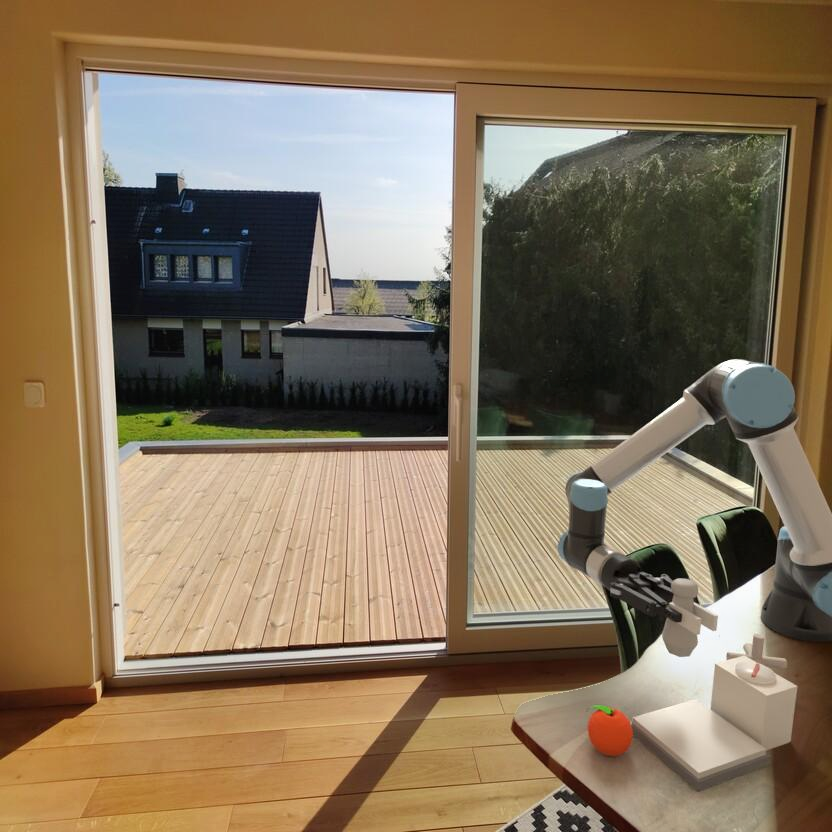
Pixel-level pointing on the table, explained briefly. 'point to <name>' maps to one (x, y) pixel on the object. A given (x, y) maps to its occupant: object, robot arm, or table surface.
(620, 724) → the clementine
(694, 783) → the dial scale
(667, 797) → the table surface
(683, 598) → the salt shaker
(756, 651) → the pipe connector
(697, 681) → the table surface
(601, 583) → the robot arm
